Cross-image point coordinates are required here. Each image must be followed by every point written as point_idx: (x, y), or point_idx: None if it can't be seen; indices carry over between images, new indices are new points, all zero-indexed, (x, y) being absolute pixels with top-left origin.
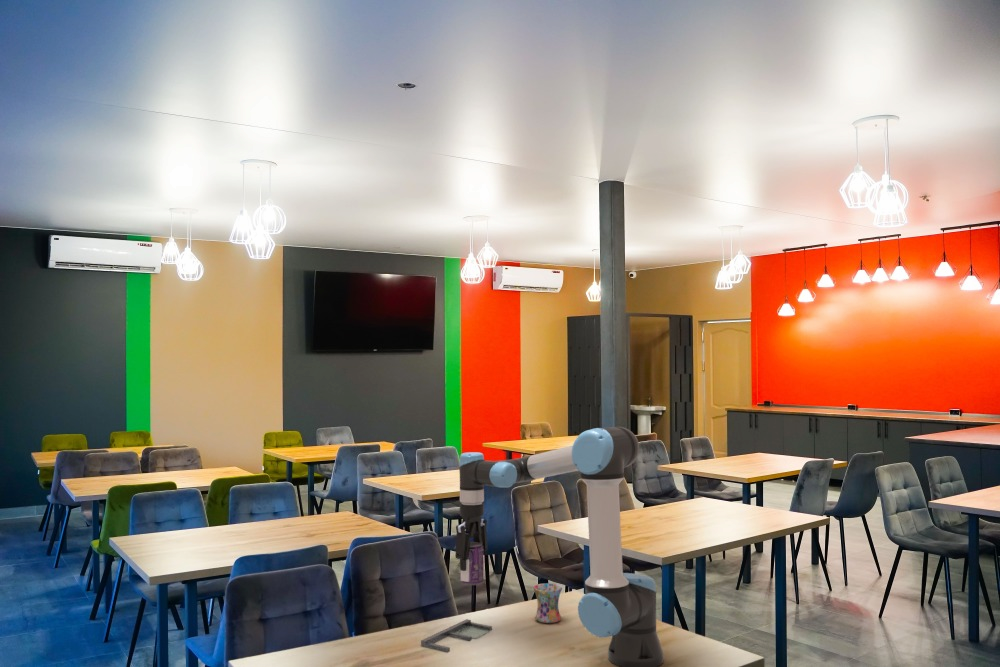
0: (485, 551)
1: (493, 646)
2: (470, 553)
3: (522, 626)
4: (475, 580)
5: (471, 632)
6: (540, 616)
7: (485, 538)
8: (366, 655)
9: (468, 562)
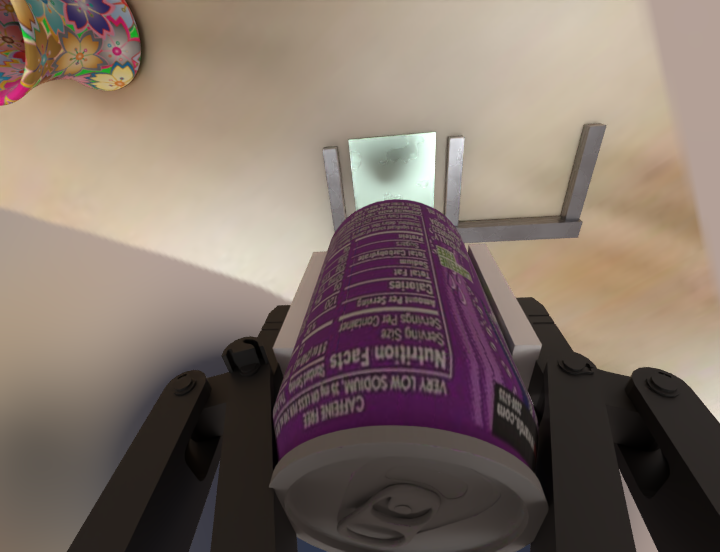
0: (227, 362)
1: (469, 9)
2: (525, 392)
3: (221, 73)
4: (441, 219)
5: (395, 180)
6: (121, 29)
7: (121, 521)
8: (689, 294)
9: (521, 326)
